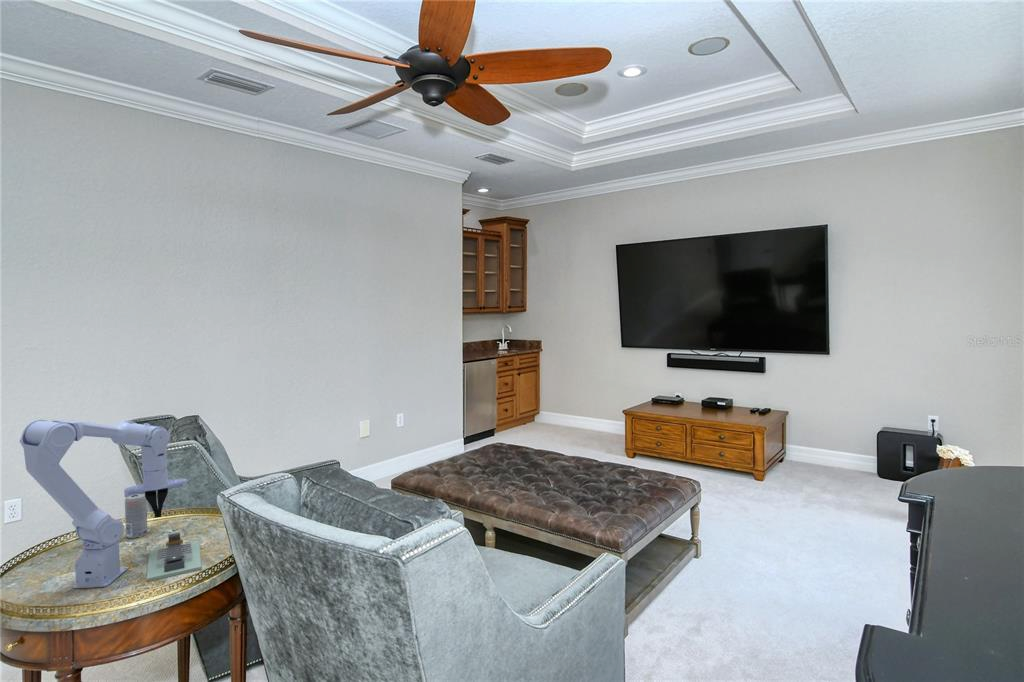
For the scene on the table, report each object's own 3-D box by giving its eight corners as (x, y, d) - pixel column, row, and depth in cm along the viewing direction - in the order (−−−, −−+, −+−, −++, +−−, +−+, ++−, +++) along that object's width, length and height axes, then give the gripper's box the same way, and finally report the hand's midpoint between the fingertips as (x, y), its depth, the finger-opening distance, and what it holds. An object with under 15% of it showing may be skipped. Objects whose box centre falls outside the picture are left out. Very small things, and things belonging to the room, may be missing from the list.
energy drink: (145, 529, 170) (144, 491, 169) (149, 535, 166) (148, 496, 165) (124, 534, 166) (123, 495, 165) (127, 540, 163) (126, 500, 162)
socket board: (201, 569, 145) (200, 551, 145) (146, 581, 139) (145, 563, 138) (199, 543, 160) (198, 527, 160) (150, 553, 154) (149, 536, 154)
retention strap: (183, 559, 144) (182, 555, 144) (165, 563, 142) (164, 559, 142) (182, 542, 155) (182, 538, 155) (166, 545, 153) (165, 541, 153)
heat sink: (192, 560, 148) (191, 553, 148) (156, 568, 144) (156, 561, 144) (191, 549, 155) (191, 542, 155) (157, 556, 151) (157, 549, 151)
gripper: (185, 460, 160) (188, 506, 161) (124, 469, 153) (127, 516, 154) (185, 467, 154) (188, 514, 155) (122, 476, 147) (125, 525, 148)
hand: (158, 516), depth 154 cm, fingers closed
